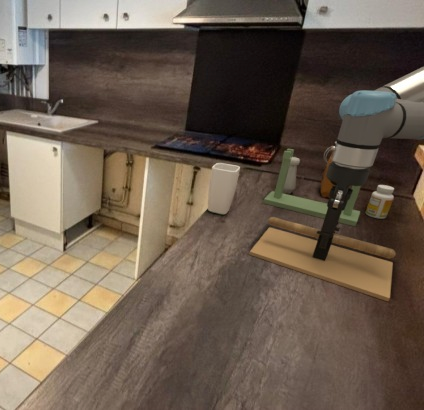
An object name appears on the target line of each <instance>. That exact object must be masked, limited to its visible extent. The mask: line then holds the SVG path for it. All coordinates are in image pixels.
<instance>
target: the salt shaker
mask: <svg viewBox="0 0 424 410" xmlns="http://www.w3.org/2000/svg"><path fill="white" fill-rule="evenodd" d="M290 158H291V162H290V166H289V170H288V174H287V178H286V181H285V185H284V189H283V194H287V195H291V193H292V192H293V191H294V190H295V189H296V185H297V172H298V171H297V169H298V166H299V165H300V163H301V159H300V158H299V157H296V156H292V157H290Z"/></svg>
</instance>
